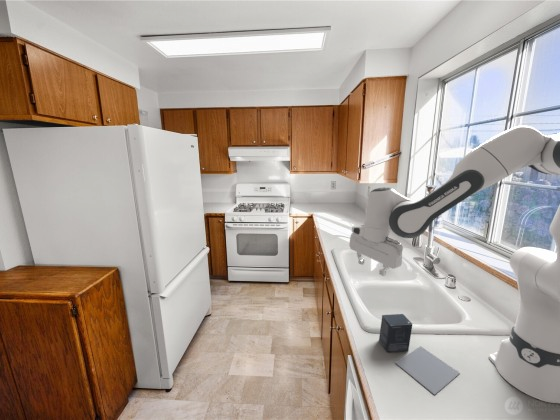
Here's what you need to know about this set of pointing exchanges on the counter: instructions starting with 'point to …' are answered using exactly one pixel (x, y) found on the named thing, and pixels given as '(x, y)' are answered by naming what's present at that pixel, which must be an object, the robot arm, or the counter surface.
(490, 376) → the counter surface
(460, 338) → the counter surface
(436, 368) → the mat
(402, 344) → the box
